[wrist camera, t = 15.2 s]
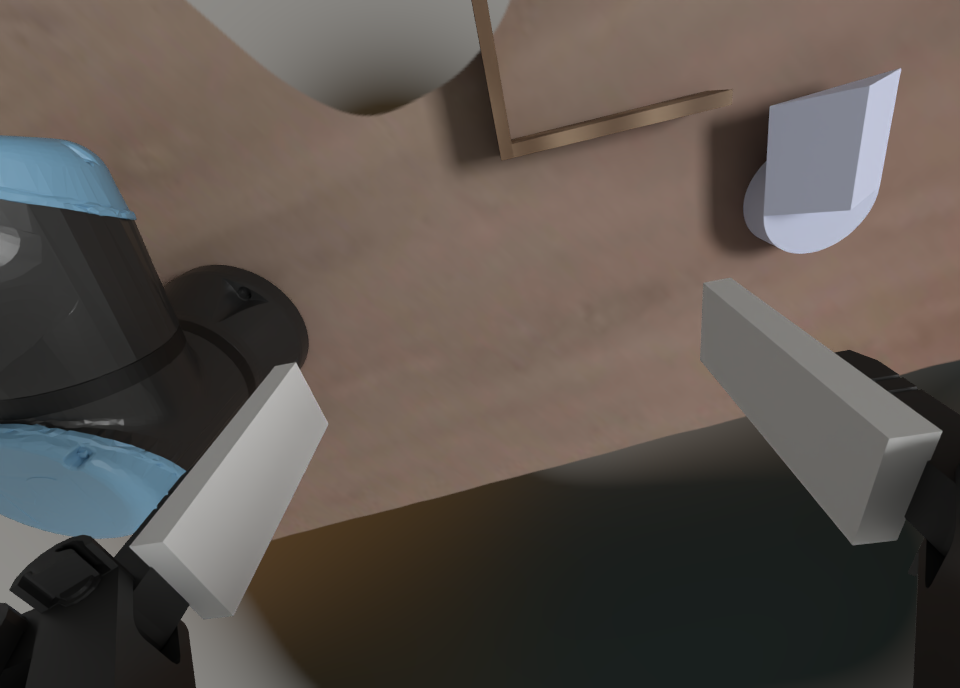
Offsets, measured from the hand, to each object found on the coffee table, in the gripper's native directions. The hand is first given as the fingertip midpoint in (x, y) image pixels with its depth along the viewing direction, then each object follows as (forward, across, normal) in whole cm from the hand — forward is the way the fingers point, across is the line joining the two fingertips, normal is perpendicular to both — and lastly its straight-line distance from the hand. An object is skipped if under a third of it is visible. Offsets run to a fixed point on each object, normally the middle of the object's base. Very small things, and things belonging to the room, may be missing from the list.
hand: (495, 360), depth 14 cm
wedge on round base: (+29, +27, -4) cm, 40 cm away
